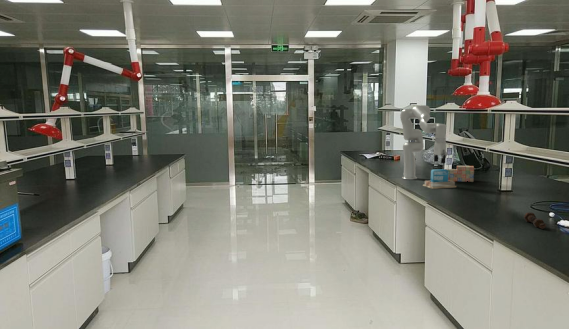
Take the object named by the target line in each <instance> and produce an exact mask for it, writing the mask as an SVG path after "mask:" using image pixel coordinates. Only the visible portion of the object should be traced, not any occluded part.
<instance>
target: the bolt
mask: <svg viewBox="0 0 570 329" xmlns="http://www.w3.org/2000/svg"><path fill="white" fill-rule="evenodd" d="M523 219H524V220H525V223H531V224H533V226H534V227H535V228H538V229H539V228H540V229H541V230H543V229H545V228H546V227H547V224H546V223H545V221H544V219H542V218H537V216H536V215H535V213H534V212H526V213H525V214H524V216H523Z"/></svg>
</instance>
